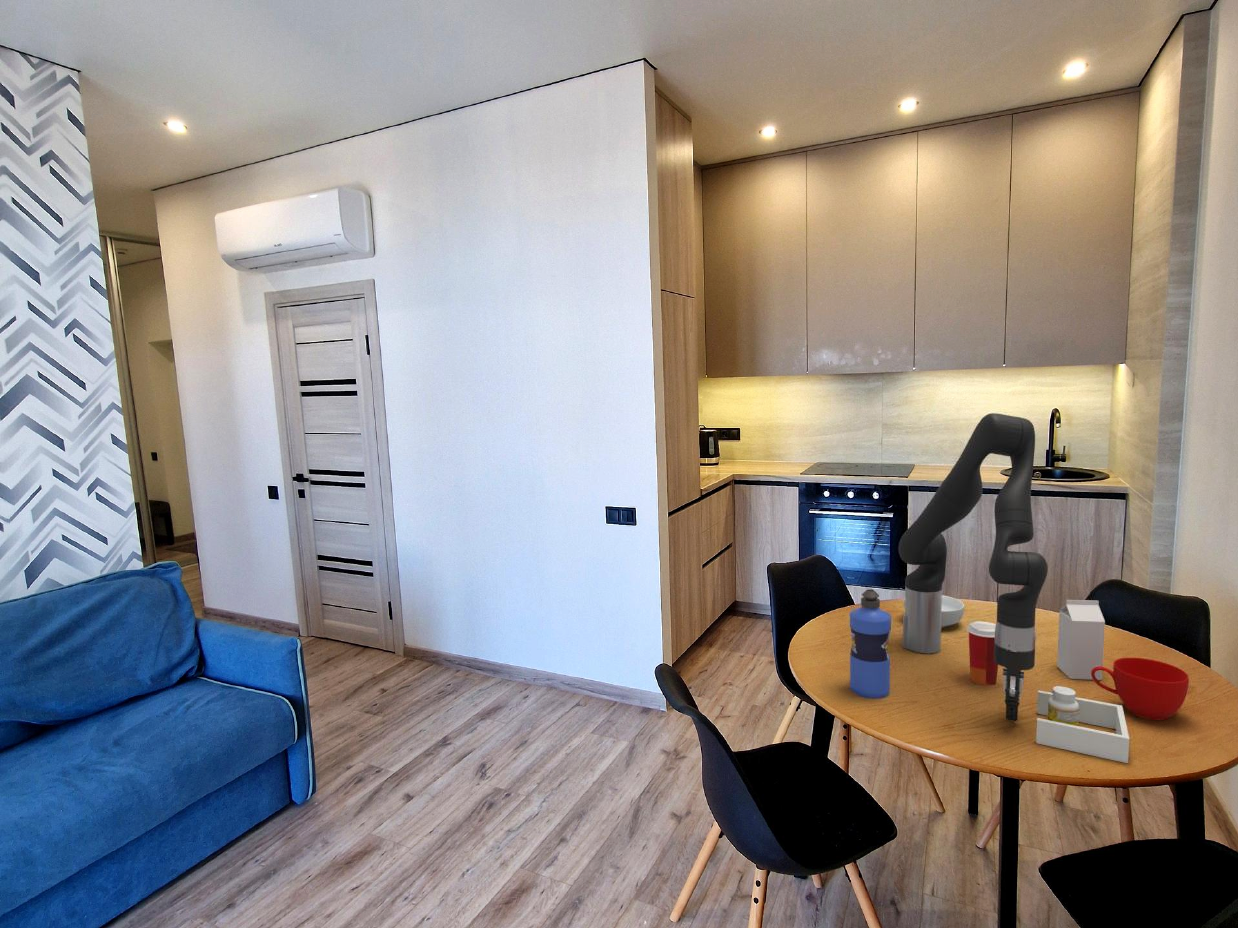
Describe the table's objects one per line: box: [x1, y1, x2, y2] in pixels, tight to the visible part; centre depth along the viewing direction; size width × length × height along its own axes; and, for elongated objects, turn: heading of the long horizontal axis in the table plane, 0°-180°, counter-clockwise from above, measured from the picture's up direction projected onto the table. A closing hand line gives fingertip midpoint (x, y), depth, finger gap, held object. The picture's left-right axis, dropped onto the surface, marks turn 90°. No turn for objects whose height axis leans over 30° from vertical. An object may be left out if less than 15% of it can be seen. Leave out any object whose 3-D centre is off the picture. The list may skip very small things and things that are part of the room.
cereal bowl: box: [903, 594, 965, 629], centre depth 203 cm, size 17×17×7 cm
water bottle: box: [849, 588, 892, 700], centre depth 160 cm, size 9×9×25 cm
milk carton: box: [1056, 599, 1106, 681], centre depth 165 cm, size 7×7×19 cm
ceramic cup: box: [1091, 657, 1190, 721], centre depth 147 cm, size 13×17×10 cm
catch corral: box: [1035, 690, 1130, 764], centre depth 138 cm, size 15×15×5 cm
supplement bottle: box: [1047, 685, 1079, 726], centre depth 139 cm, size 5×5×10 cm
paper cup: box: [966, 620, 999, 687], centre depth 164 cm, size 8×8×14 cm
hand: (1011, 718), depth 144 cm, fingers closed
